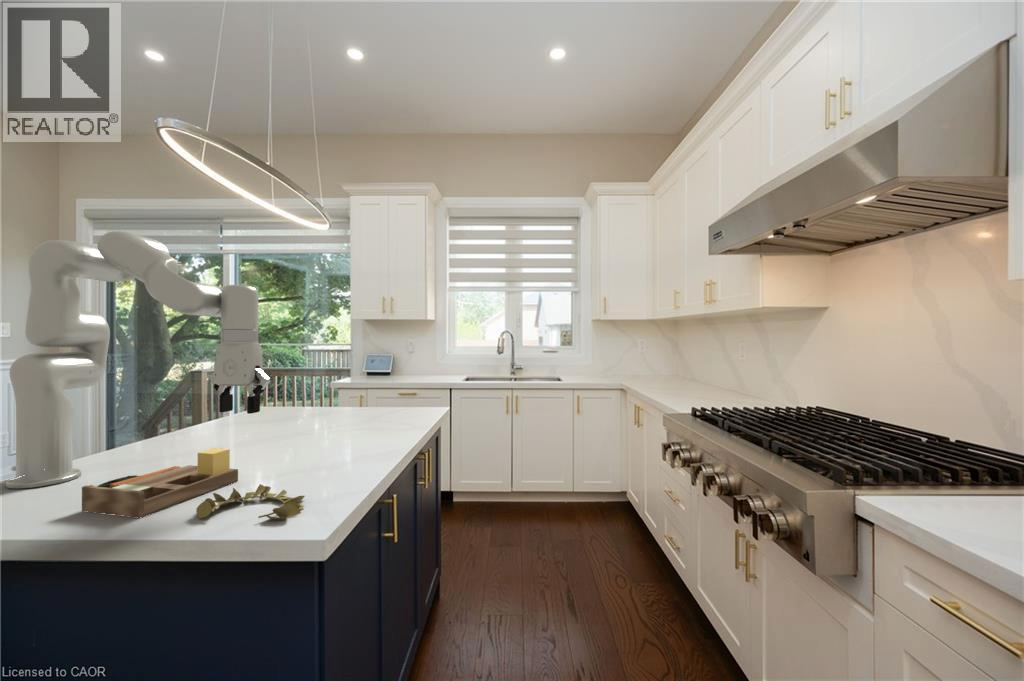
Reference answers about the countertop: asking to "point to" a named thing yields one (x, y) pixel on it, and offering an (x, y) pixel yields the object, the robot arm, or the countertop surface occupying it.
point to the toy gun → (132, 478)
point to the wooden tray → (154, 492)
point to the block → (213, 461)
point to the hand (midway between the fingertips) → (239, 411)
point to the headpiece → (283, 512)
